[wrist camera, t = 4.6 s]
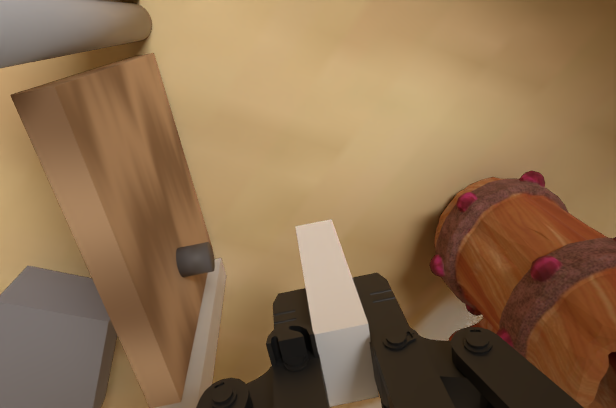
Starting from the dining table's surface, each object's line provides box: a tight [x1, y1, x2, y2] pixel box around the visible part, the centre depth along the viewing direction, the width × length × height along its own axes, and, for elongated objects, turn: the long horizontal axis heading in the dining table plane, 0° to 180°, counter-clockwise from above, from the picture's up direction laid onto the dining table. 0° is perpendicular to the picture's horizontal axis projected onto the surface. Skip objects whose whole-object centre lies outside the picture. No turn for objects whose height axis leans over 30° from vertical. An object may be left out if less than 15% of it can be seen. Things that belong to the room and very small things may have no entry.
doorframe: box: [0, 0, 226, 408], centre depth 18 cm, size 20×2×14 cm, turn 10°
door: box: [11, 53, 215, 408], centre depth 20 cm, size 12×3×12 cm, turn 10°
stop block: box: [0, 266, 117, 408], centre depth 28 cm, size 10×6×4 cm, turn 162°
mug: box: [429, 171, 616, 408], centre depth 23 cm, size 15×8×15 cm, turn 163°
